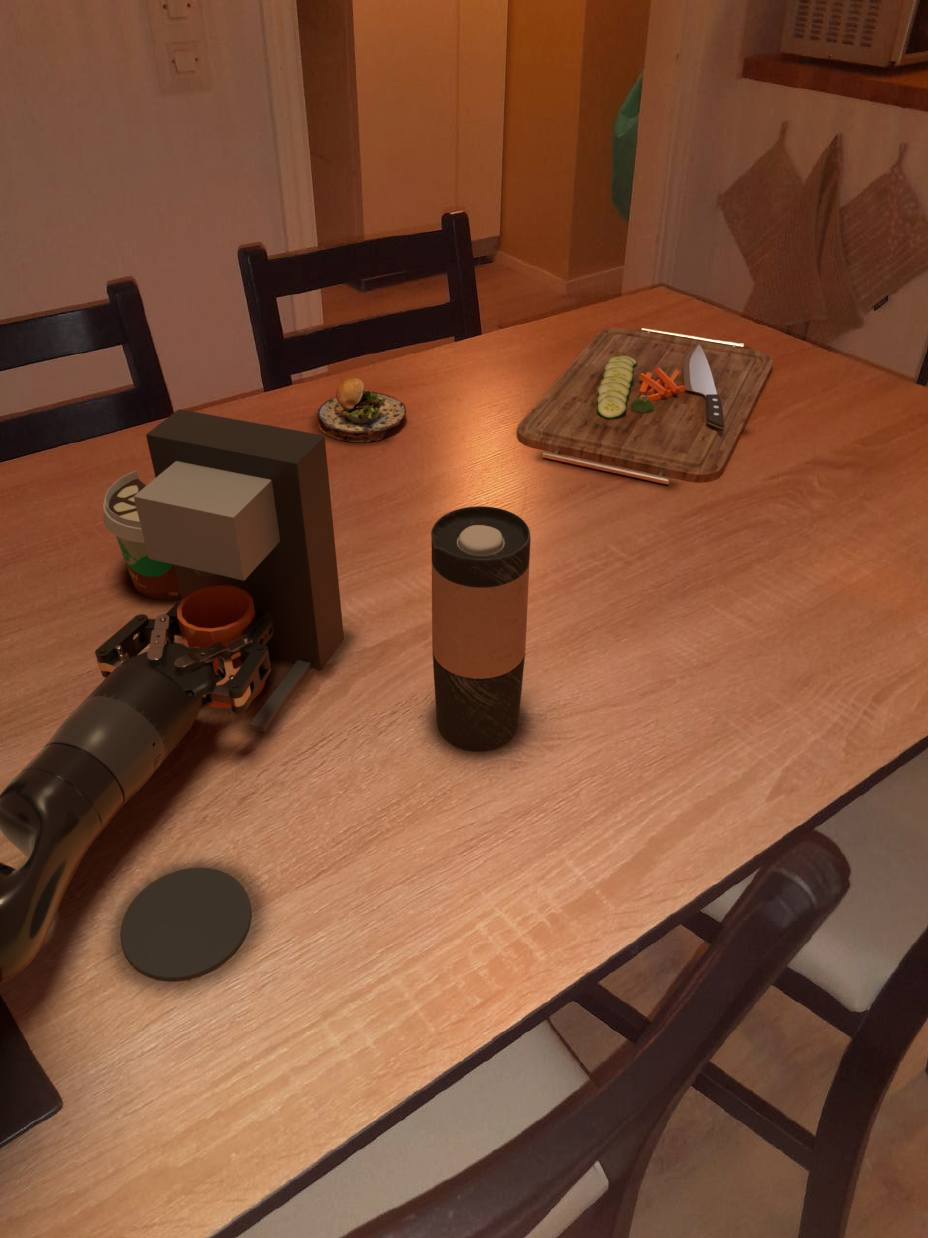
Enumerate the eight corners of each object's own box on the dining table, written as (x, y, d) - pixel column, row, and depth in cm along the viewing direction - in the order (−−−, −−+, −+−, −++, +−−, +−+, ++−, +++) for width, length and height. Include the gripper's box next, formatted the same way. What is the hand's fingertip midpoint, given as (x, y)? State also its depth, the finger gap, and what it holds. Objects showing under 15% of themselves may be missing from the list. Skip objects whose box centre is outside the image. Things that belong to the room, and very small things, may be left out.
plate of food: (395, 447, 124) (392, 393, 119) (306, 439, 125) (300, 385, 121) (415, 406, 133) (414, 354, 128) (332, 399, 135) (328, 347, 130)
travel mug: (537, 715, 86) (551, 524, 73) (490, 768, 81) (496, 573, 68) (465, 682, 89) (467, 494, 76) (416, 731, 84) (409, 538, 72)
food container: (100, 570, 102) (77, 488, 96) (153, 548, 106) (134, 468, 99) (155, 625, 95) (134, 540, 89) (211, 599, 99) (194, 516, 92)
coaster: (94, 945, 67) (92, 940, 67) (183, 854, 74) (182, 849, 73) (192, 1005, 64) (190, 1000, 64) (277, 904, 70) (276, 899, 70)
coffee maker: (136, 699, 87) (76, 486, 73) (218, 609, 97) (178, 408, 84) (274, 737, 83) (238, 521, 70) (344, 639, 94) (325, 435, 80)
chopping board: (608, 327, 155) (610, 308, 153) (778, 356, 147) (782, 336, 145) (502, 451, 123) (502, 429, 121) (710, 497, 115) (715, 474, 113)
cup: (179, 693, 88) (161, 615, 82) (226, 653, 92) (212, 577, 86) (234, 718, 85) (219, 639, 80) (280, 676, 89) (268, 599, 84)
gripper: (193, 724, 69) (300, 592, 82) (28, 678, 73) (154, 559, 85) (209, 794, 74) (309, 659, 86) (54, 747, 78) (170, 625, 90)
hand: (231, 610), depth 86 cm, fingers closed on cup, 6 cm apart
